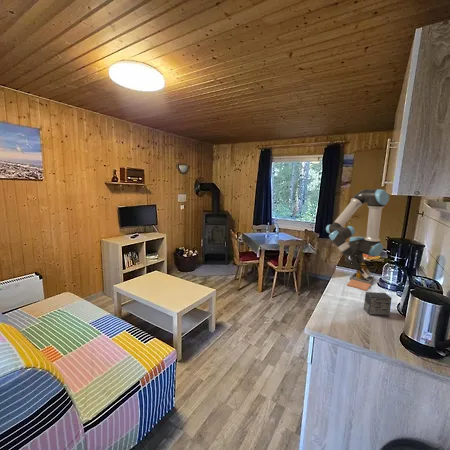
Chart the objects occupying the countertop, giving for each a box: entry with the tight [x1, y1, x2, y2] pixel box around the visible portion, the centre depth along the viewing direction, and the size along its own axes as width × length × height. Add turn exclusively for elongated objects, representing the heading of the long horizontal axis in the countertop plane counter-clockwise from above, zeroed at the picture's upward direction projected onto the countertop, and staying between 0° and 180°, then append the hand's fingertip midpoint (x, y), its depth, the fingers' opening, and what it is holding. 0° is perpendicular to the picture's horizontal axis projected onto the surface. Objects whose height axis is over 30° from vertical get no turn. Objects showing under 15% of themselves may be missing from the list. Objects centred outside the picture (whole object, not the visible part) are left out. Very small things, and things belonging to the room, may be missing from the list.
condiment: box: [354, 262, 370, 281], centre depth 171 cm, size 7×8×12 cm
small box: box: [363, 291, 393, 317], centre depth 127 cm, size 11×6×10 cm, turn 84°
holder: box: [349, 272, 375, 285], centre depth 172 cm, size 13×13×2 cm
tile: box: [346, 279, 372, 292], centre depth 162 cm, size 12×12×1 cm
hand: (368, 275), depth 169 cm, fingers closed on condiment, 6 cm apart
